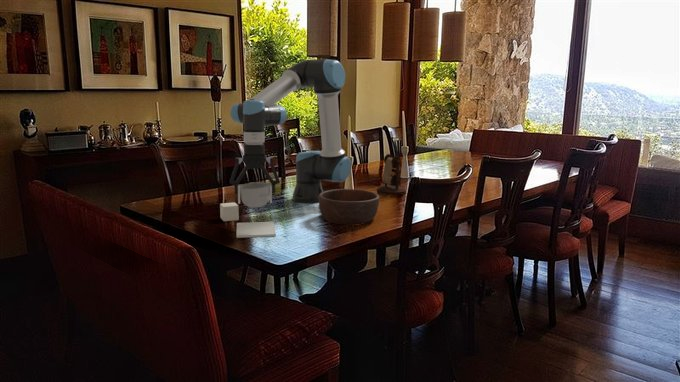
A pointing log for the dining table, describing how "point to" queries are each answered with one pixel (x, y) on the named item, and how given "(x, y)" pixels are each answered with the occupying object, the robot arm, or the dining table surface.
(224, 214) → the cream block
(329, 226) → the dining table surface
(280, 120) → the robot arm
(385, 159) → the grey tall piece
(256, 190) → the teacup
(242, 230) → the mat
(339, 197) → the wooden bowl
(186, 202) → the dining table surface
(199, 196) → the dining table surface
